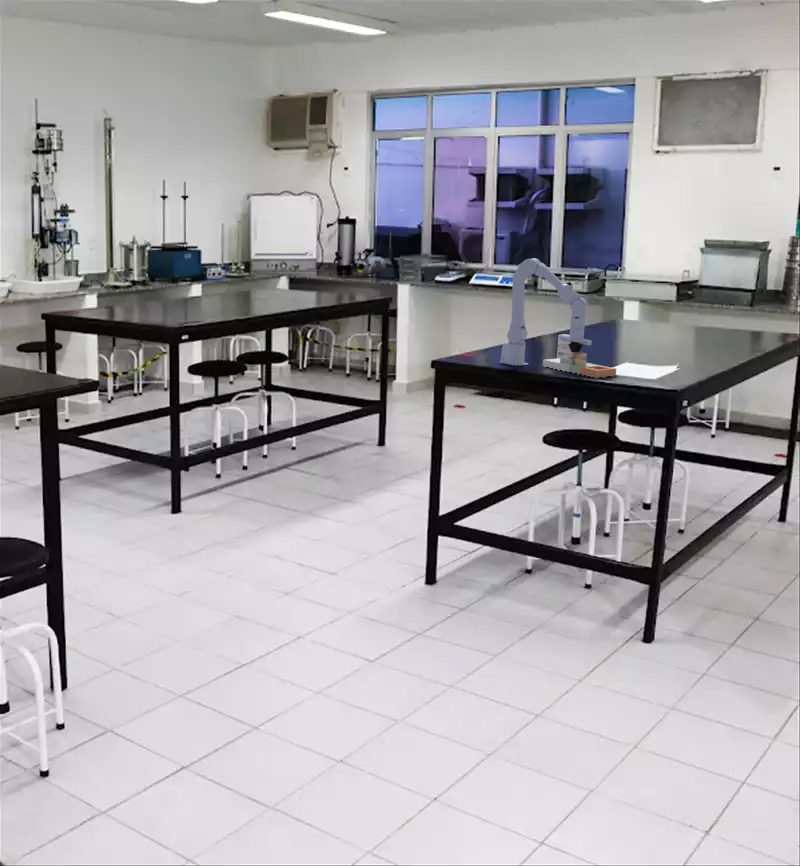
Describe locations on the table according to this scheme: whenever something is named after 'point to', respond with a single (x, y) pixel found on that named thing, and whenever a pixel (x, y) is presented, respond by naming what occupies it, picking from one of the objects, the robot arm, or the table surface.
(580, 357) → the maple block
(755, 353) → the table surface
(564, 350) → the ink box
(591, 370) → the channel deck
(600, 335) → the table surface
